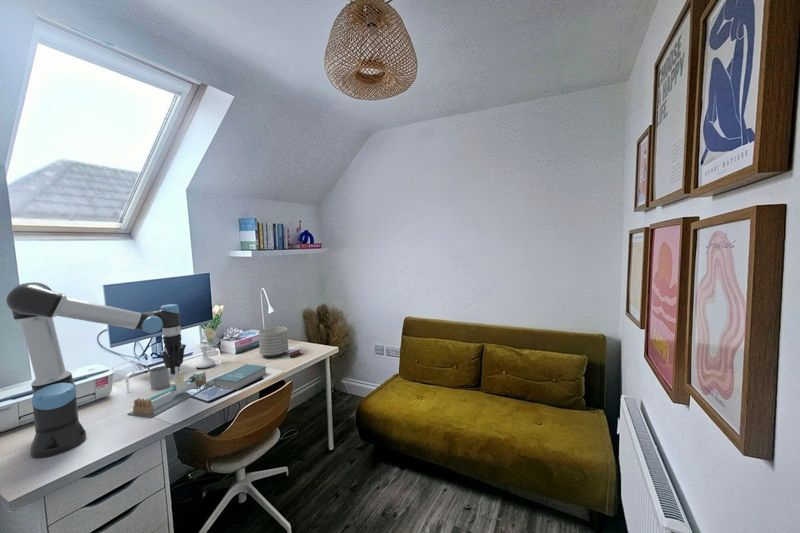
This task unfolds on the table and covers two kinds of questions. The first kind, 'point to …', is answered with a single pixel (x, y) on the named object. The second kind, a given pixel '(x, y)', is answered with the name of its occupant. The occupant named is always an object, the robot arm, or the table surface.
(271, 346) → the planter
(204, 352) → the flower in vase
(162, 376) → the cup
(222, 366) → the table surface
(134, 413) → the cord rig
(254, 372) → the book
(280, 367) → the table surface
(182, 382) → the sliding rod collar
